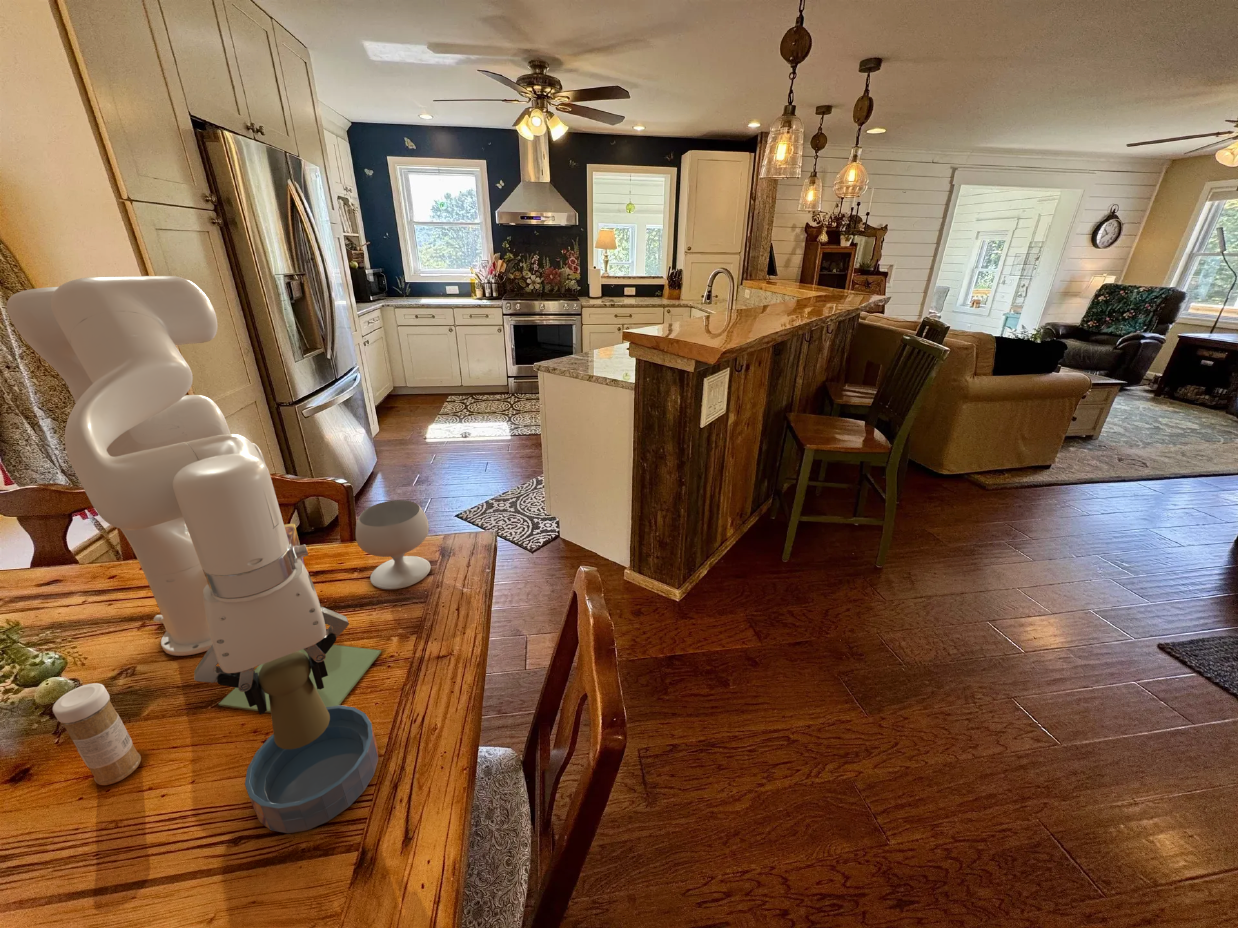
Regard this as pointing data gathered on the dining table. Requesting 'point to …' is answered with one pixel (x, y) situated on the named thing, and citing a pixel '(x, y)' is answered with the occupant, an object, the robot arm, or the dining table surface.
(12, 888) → the dining table surface
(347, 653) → the mat
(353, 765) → the bowl
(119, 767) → the sprinkles bottle
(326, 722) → the cork
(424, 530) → the chalice
